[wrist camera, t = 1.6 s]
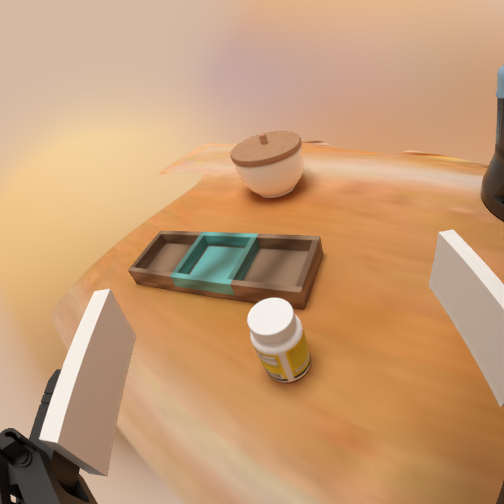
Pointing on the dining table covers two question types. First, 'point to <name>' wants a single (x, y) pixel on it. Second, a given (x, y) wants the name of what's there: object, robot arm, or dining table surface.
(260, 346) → the supplement bottle
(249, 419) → the dining table surface
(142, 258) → the tray
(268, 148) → the lidded bowl
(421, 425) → the dining table surface
